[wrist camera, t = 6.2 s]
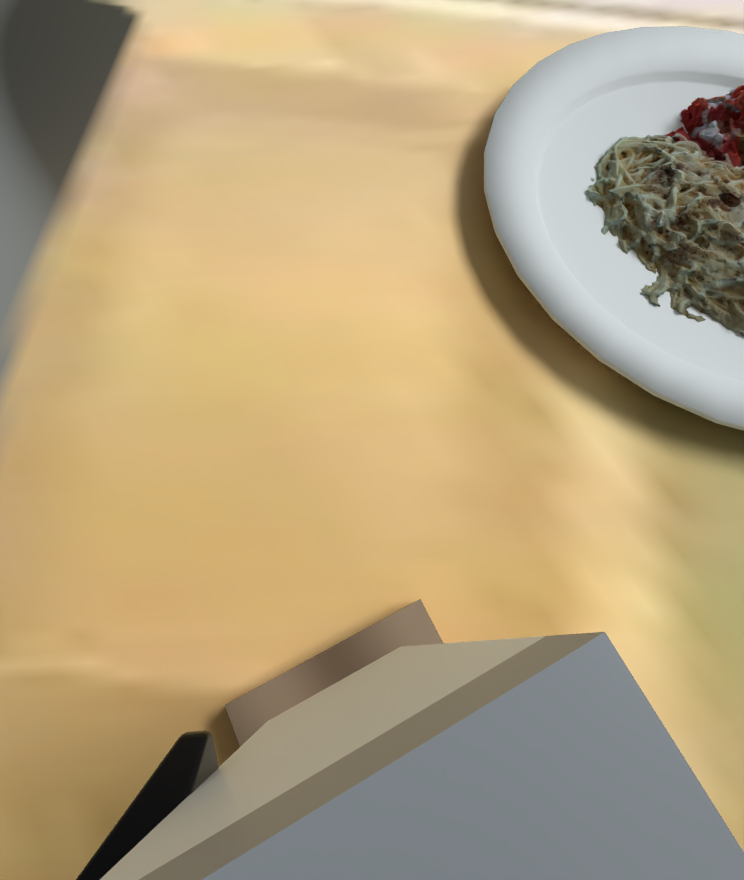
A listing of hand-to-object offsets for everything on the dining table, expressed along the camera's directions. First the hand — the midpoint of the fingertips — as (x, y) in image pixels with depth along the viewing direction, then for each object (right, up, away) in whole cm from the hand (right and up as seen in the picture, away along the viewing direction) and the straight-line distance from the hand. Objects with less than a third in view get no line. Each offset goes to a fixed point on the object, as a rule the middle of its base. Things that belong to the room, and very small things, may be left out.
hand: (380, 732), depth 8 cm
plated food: (+21, +18, +22) cm, 35 cm away
